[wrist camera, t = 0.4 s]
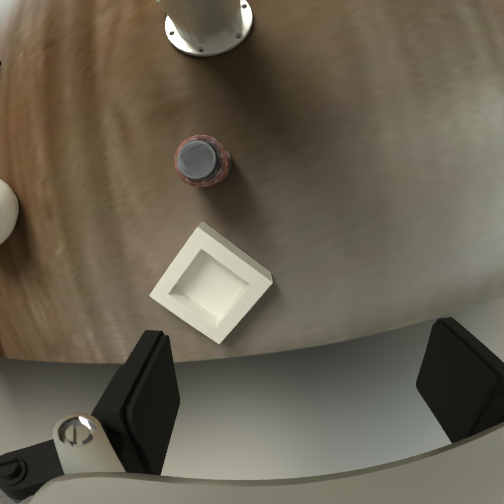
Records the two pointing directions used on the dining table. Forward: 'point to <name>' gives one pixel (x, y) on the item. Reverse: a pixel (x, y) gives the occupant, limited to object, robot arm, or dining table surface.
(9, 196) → the lidded bowl
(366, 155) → the dining table surface
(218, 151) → the supplement bottle
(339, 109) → the dining table surface
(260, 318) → the dining table surface
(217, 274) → the socket
